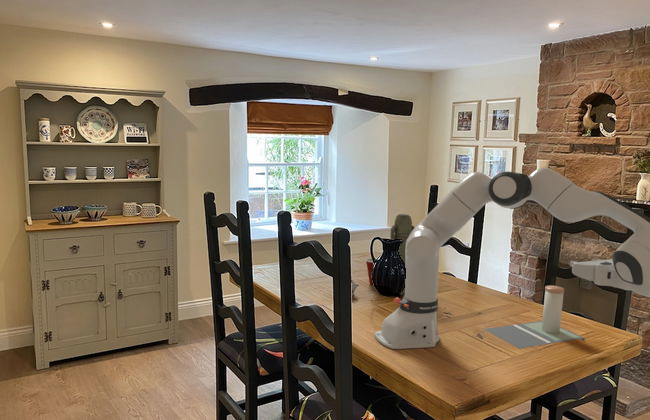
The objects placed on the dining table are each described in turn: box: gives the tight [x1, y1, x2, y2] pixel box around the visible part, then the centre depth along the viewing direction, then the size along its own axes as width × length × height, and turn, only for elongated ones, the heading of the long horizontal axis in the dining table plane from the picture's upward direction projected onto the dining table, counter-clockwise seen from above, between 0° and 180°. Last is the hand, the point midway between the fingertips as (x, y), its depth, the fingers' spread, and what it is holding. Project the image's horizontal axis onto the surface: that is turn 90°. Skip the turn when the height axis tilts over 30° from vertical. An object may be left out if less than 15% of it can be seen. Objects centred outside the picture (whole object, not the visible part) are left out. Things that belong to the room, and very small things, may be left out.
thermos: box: [389, 213, 415, 296], centre depth 229 cm, size 9×12×35 cm
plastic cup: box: [365, 257, 373, 286], centre depth 241 cm, size 11×11×12 cm
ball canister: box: [541, 285, 565, 334], centre depth 185 cm, size 6×6×16 cm
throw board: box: [483, 320, 585, 350], centre depth 183 cm, size 29×18×1 cm, turn 112°
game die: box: [350, 276, 360, 296], centre depth 223 cm, size 9×8×10 cm
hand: (582, 262), depth 169 cm, fingers open, 8 cm apart
